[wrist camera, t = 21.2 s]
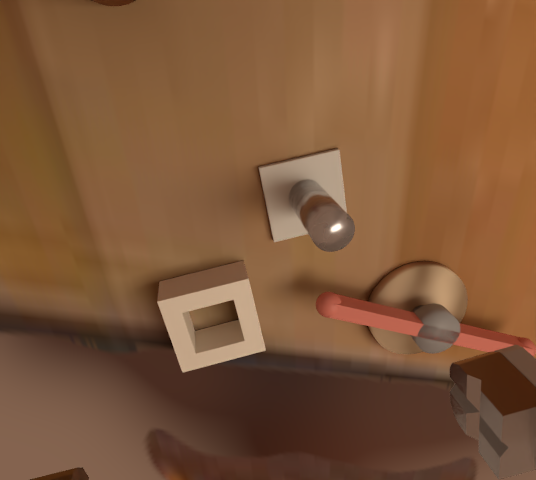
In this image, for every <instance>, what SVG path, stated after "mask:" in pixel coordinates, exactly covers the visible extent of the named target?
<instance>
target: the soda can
mask: <svg viewBox="0 0 536 480" xmlns="http://www.w3.org/2000/svg"><path fill="white" fill-rule="evenodd" d="M91 1H94V2H96V3H99V4H102V5H106V6H122V5H127V4H130V3H132V2H134V1H136V0H91Z"/></svg>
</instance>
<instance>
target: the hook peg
mask: <svg viewBox="0 0 536 480" xmlns="http://www.w3.org/2000/svg"><path fill="white" fill-rule="evenodd" d="M289 203H290V206H291V207H292V209H293V211H294V212H295V214H296V215H297V217H298V218H299V220H300V221H301V223H302V224H303V226H304V228H305V229H306V231H307V232H308V234H309V235H310V237H311V238H312V240H313V242H314V243H315V245H316V246H317V247H318V248H320V249H321V250H324V251H327V252H333V251H338V250H340V249H342V248H344V247H345V246H347V245H348V244H349V242H350V241H351V240H352V238H353V235H354V231H355V226H354V222H353V220H352V218H351V217H350V216H349V215H348V214H347V213H346V212H345V211H344V210H343V209H342V208H341V207H340V206H339V204H338V203H337V202H336V201H335V200H334V199H333V198H332V197H331V196H330V195H329V194H328V193H327V192H326V191H325V190H324V189H323V188H322V187H321V185H320V184H319V183H317V182H316V181H314V180H302V181H299V182H298V183H296V184H295V185H294V186H293V187H292V189H291V190H290V193H289Z"/></svg>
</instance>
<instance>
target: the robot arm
mask: <svg viewBox="0 0 536 480" xmlns="http://www.w3.org/2000/svg"><path fill="white" fill-rule="evenodd" d="M450 378H451V379H452V380H453V381H454V383H455V385H454V386H453V388H452V389H451V391H450V403H451V406H452V409H453V412H454V416H455V417H456V419H457V421H458V423H459V425H460V426H461V428H462V429H463V431H464V432H465V434H466V435H468V436H470V437H472V438H474V439H476V440H478V441H479V453H480V455H481V456H482V457H483V459H484V460H485V461H486V463H487V464H488V465H489V467H490V468H491V470H492V471H493V472H494V474H495V475H496V476H497V478H498V479H503V478H507V477H511V476H514V475H518V474H522V473H526V472H529V471H533V470H536V359H535V358H534V357H533V356H532V355H531V354H530V353H529V352H527V351H526V350H525V349H524V348H523V347H521V346H519V345H513V346H510V347H506V348H503V349H499V350H496V351H494V352H493V351H492V352H488V353H485V354H481V355H478V356H474V357H471V358H467V359H464V360H461V361H457V362H454V363H452V364H451V366H450ZM30 480H89V477H88V475H87V474H86V472H85V471H84V469H83V468H74V469H70V470H66V471H62V472H58V473H54V474H50V475H46V476H42V477H38V478H35V479H30Z"/></svg>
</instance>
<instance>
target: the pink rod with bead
mask: <svg viewBox="0 0 536 480" xmlns="http://www.w3.org/2000/svg"><path fill="white" fill-rule="evenodd" d="M316 308H317V311H318V312H319V313H320V314H321V315H322V316H324V317H327V318H334V319H338V320H343V321H348V322H352V323H357V324H361V325H366V326H371V327H375V328H380V329H384V330H389V331H394V332H398V333H403V334H407V335H410V336H411V337H412V339H413V340H414V341H415V343H416V344H417V345H418V346H419V348H420V349H421V350H422V351H424V352H426V353H439V352H442V351H444V350H446V349H448V348H449V347H451V346H452V345H458V346H463V347H467V348H472V349H476V350H481V351H486V352H492V351H493V352H494V351H496V350H499V349H503V348H506V347H510V346H513V345H519V346H521V347H523V348H524V349H525V350H526V351H527V352H529V353H530V354H531V355H532V356H534V355H535V353H536V347H535V345H534V343H533V342H532V341H531V340H529V339H527V338H520V337H516V336H512V335H507V334H503V333H499V332H495V331H490V330H486V329H482V328H478V327H473V326H469V325H465V324H461V323H459V322H458V320H457V319H456V318H455V317H454V316H453V315H452V314H451V313H450V312H449V311H448V310H447V309H446V308H445V307H444V306H442V305H440V304H436V303H432V304H427V305H424V306H422V307H420V308H418V309H417V310H416V311H415V312H410V311H406V310H401V309H397V308H393V307H389V306H384V305H380V304H376V303H372V302H367V301H363V300H359V299H355V298H350V297H346V296H342V295H338V294H335V293H333V292H325V293H322V294H321V295H320V296H319V297H318V298H317V301H316Z"/></svg>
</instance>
